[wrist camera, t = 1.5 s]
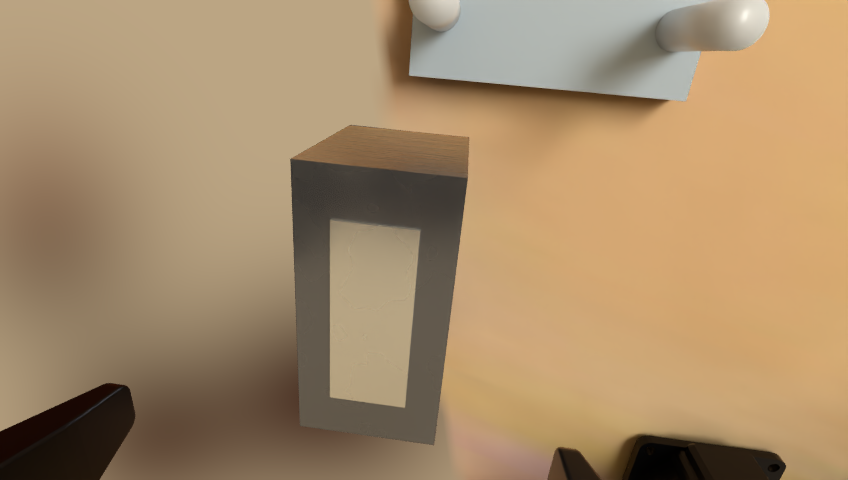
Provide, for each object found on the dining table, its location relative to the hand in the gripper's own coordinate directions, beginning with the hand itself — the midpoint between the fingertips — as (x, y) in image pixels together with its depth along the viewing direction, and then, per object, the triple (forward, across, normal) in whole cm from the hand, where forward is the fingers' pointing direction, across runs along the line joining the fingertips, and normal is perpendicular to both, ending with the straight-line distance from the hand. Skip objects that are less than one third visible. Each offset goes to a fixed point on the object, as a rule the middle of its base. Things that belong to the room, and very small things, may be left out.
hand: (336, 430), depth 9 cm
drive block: (+10, 0, 0) cm, 10 cm away
